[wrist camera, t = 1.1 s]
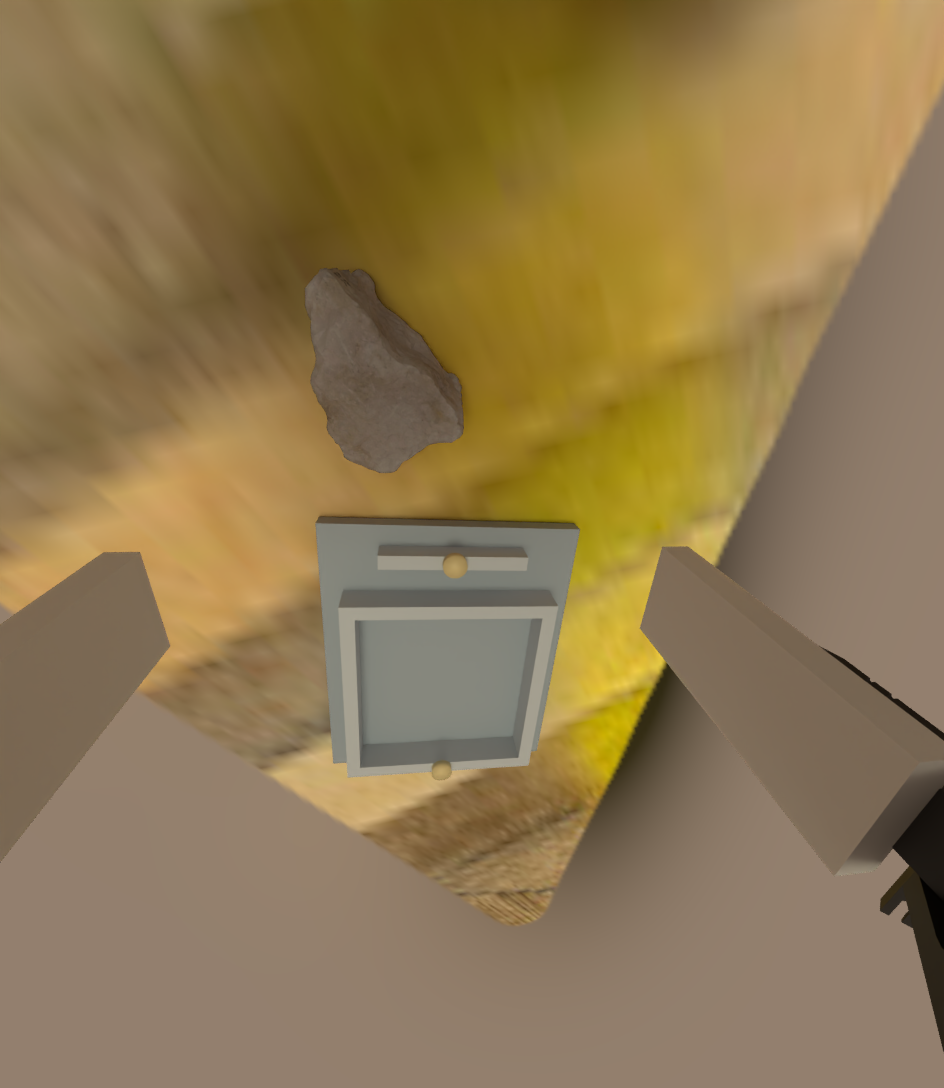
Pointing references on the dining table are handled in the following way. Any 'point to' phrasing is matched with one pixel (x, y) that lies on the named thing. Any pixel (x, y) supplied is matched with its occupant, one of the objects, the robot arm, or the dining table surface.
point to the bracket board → (440, 639)
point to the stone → (376, 375)
